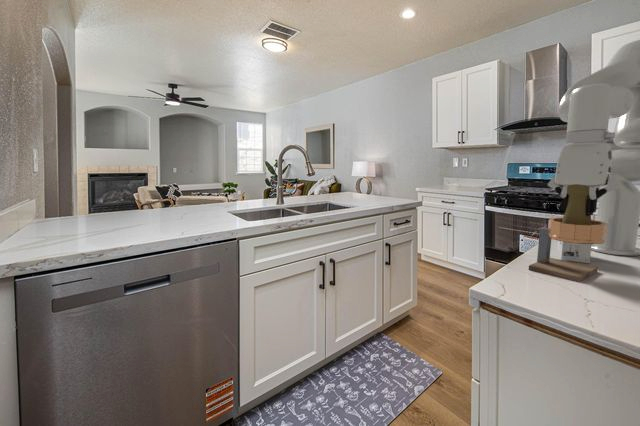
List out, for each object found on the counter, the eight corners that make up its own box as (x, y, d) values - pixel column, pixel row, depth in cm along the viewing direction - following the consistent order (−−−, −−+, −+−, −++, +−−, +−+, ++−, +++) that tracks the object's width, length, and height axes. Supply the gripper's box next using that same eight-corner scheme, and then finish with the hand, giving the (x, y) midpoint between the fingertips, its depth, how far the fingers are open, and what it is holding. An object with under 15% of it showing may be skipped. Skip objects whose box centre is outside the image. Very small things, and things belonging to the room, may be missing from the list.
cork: (597, 228, 75) (603, 183, 73) (569, 228, 76) (573, 183, 74) (582, 224, 81) (586, 181, 79) (556, 223, 82) (559, 181, 80)
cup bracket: (547, 261, 90) (552, 215, 87) (607, 273, 79) (613, 221, 77) (528, 269, 83) (532, 220, 81) (590, 284, 72) (597, 227, 70)
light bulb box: (590, 264, 87) (594, 226, 85) (560, 260, 90) (563, 224, 89) (583, 254, 96) (587, 220, 94) (556, 251, 99) (559, 218, 98)
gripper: (638, 136, 70) (627, 216, 73) (551, 142, 84) (545, 209, 87) (628, 135, 66) (617, 220, 69) (539, 141, 80) (533, 211, 83)
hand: (577, 213), depth 78 cm, fingers closed on cork, 3 cm apart
